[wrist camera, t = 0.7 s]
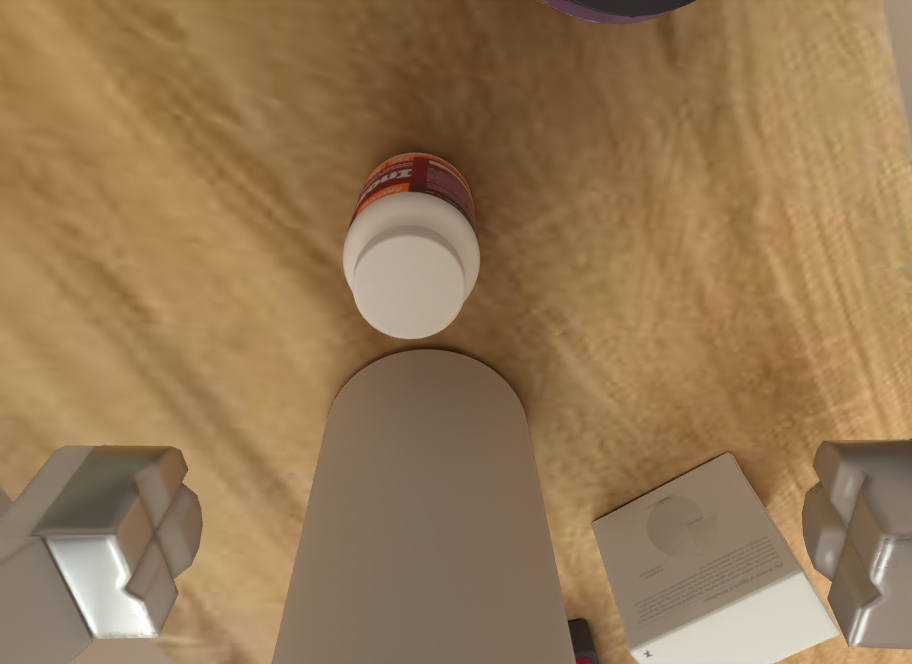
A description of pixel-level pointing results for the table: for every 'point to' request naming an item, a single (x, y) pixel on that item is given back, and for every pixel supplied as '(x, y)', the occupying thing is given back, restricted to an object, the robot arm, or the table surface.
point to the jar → (593, 13)
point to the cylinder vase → (425, 526)
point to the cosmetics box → (708, 574)
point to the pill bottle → (412, 246)
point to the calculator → (582, 642)
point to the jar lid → (632, 6)
